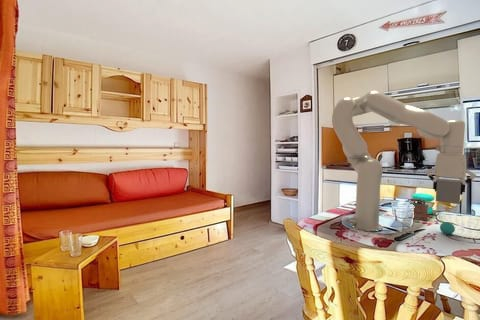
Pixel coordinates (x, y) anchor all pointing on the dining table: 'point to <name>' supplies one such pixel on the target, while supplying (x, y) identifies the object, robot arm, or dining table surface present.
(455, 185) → the taupe cardboard-like cube
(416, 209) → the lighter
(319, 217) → the dining table surface
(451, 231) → the ball
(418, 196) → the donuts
